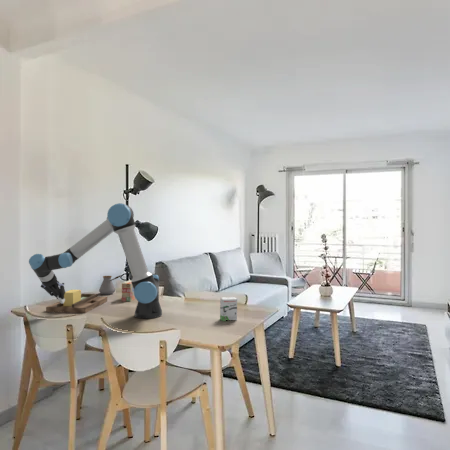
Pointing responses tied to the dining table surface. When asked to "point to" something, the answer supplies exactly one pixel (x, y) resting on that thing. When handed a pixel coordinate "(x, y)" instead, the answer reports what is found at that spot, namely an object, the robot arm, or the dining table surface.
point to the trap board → (79, 304)
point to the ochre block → (72, 297)
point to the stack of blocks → (127, 291)
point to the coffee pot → (107, 285)
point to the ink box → (228, 308)
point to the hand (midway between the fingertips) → (63, 301)
